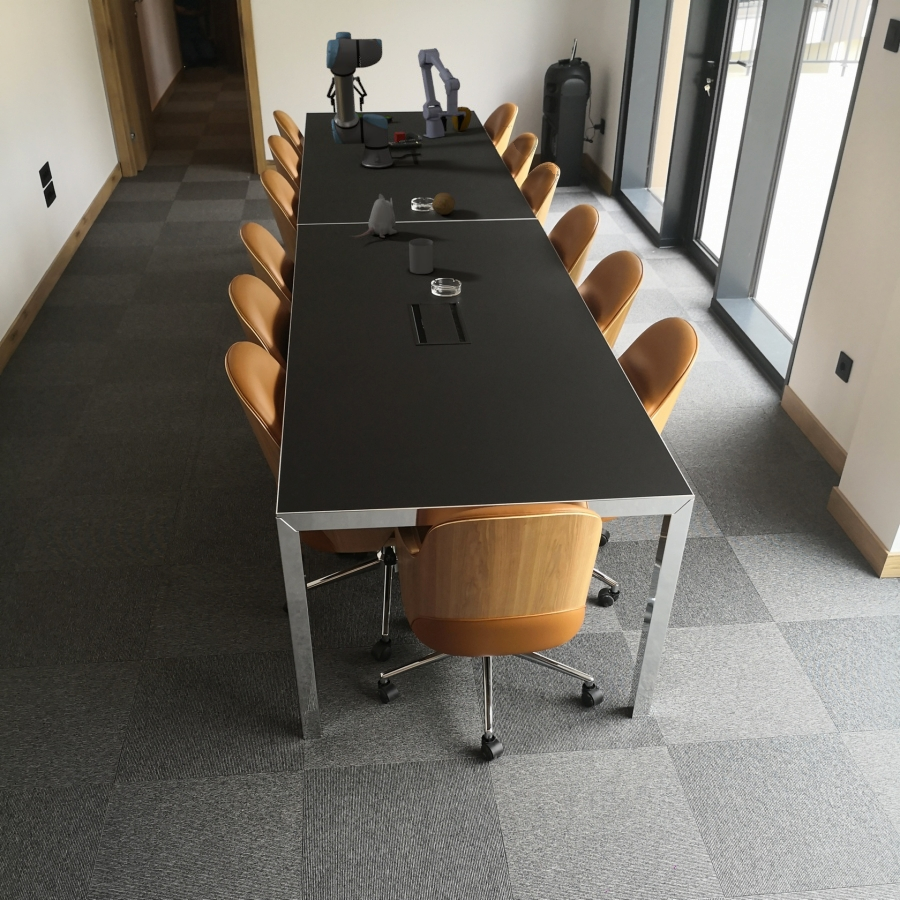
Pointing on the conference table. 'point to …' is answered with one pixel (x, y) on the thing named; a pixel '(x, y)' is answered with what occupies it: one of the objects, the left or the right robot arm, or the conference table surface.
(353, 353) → the conference table surface
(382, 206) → the toy
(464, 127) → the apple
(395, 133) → the brick
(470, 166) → the conference table surface
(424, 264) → the cup
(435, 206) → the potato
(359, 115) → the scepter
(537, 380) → the conference table surface
